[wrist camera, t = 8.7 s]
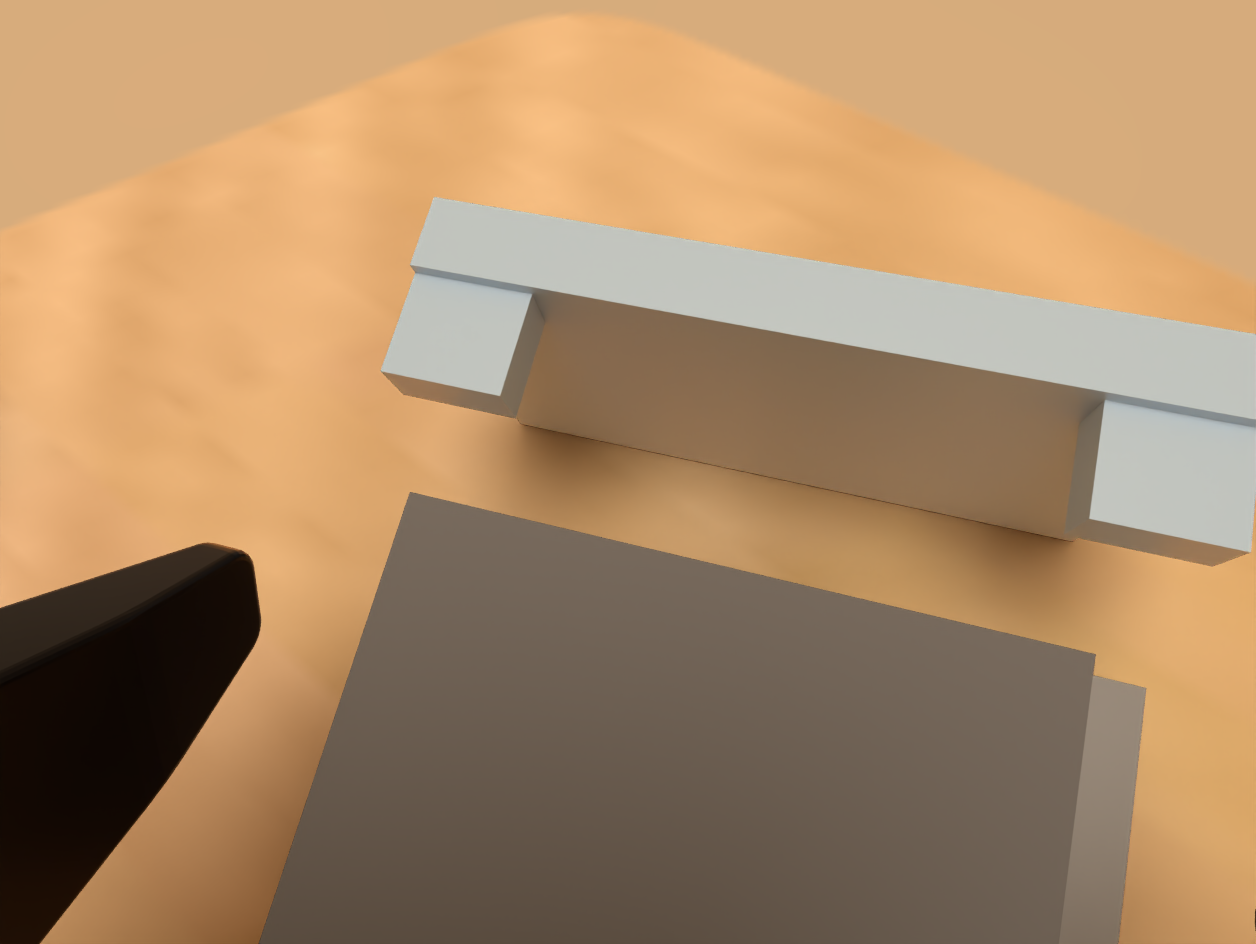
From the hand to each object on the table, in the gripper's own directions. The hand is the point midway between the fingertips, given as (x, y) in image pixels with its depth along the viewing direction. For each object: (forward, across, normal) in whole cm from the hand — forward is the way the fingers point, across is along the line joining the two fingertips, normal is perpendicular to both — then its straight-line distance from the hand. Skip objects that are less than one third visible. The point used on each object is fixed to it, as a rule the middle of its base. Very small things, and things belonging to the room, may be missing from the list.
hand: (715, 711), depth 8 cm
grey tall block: (+4, 0, +6) cm, 8 cm away
